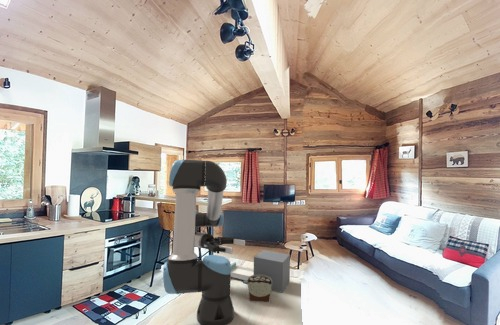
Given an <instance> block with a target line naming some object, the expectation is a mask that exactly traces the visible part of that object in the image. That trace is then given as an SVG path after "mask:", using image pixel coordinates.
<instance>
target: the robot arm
mask: <svg viewBox="0 0 500 325" xmlns="http://www.w3.org/2000/svg"><path fill="white" fill-rule="evenodd" d="M168 179H169V180H168V185H169V187H172V191H173V193H175V204H174V205H175V206H174V220H173V221H174V225H173V241H172V253H171V254H170V255H169V256H168V259H167V260H168V261H166V262H164V264H163V268H162V269H163V271H162V280H163V288H164V291H165V293H167V294H168V295H169V294H170V295H174V294H175V295H180V294H192V293H201V298H200V302H199V304H198V306H197V310H196V321H197V322H198V323H199V324H200V325H228V324H229V323H231V322H232V321H233V319H234V317H235V309H234V308H235V307H234V305H233V301H232V298H231V278H232V277H231V264H232V263H231V260H229V259H228V258H227V257H225V256H222V255H218V254H220V253H225V254H230V255H232V254H233V247H230V246H224V245H230V244H233V245H237V246H243V247H246V240H244V239H237V238H236V237H235V236H224V237H223V236H217V237H214V236H213V234H212V233H211V234H210V233H205V232H199V231H197V230H198V228H201V227H202V228H205V227H207V228H208V227H209V228H211V227H212V228H213V227H215V228H216V227H217V228H218V227H223V225H224V213H222V206H223V205H222V204H223V197H224V192H225V190H226V187H227V184H228V183H227V182H228V181H227V175H226V173H225V171H224V169H222V167H221V166H220V165H219V164H217V163H216V162H214V161H212V160H200V159H199V160H198V159H177V160H176V159H175V161H173V163H172V165H171V168H170V172H169V178H168ZM201 187H203V188H204V187H206V189H207V203H206V204H207V205H206V206H207V207H206V212H198V210H197V194H198V193H200V191H201ZM195 247H196V248H198V249H201V248H202V249H205V250H208V251H209V252H212V253H214V254H208V255H205V256H203V258H202V260H198V255H197V254H196V253H195ZM216 253H217V254H216Z"/></svg>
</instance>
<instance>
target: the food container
mask: <svg viewBox="0 0 500 325" xmlns="http://www.w3.org/2000/svg"><path fill="white" fill-rule="evenodd" d="M247 282H248V284H247V287H248V290H247V291H248V301H249V302H255V303H256V302H257V303H267V304H269V303H270V301H271V293H272V290H271V287H272V284H273V282H272V279H271V278H270V277H268V276H266V275H252V276H250V277H249V278H248V279H247Z"/></svg>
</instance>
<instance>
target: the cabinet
mask: <svg viewBox="0 0 500 325" xmlns="http://www.w3.org/2000/svg"><path fill="white" fill-rule="evenodd" d="M290 268H291V254H289V253H282V252H277V251H272V250H266V249H262V250H261V251H260V252H258V253H257V254H256V255H254V256H253V269H254V275H266V276H268V277H270V278H271V279H272V282H273V284H272V287H271V291H276V292H278V293H279V292H280V293H284V291H285V290H286V288H287V287H286V286H289V284H288V283H290V279H291V277H290V275H291V274H290V271H291V269H290ZM242 283H243V284H245V285H248V282H247V280H243V282H242Z"/></svg>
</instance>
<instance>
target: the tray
mask: <svg viewBox="0 0 500 325" xmlns="http://www.w3.org/2000/svg"><path fill="white" fill-rule="evenodd" d="M230 264H231V278H233V279H234V278H235V279H239V280H243V281H244V280H247V279H248V278H249V277H250V276H252V275H254V267H253V268H252V267H248V266H247V267H246V266H242V265H238V264H237V262H236V261H233V262H232V263H230Z"/></svg>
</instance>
